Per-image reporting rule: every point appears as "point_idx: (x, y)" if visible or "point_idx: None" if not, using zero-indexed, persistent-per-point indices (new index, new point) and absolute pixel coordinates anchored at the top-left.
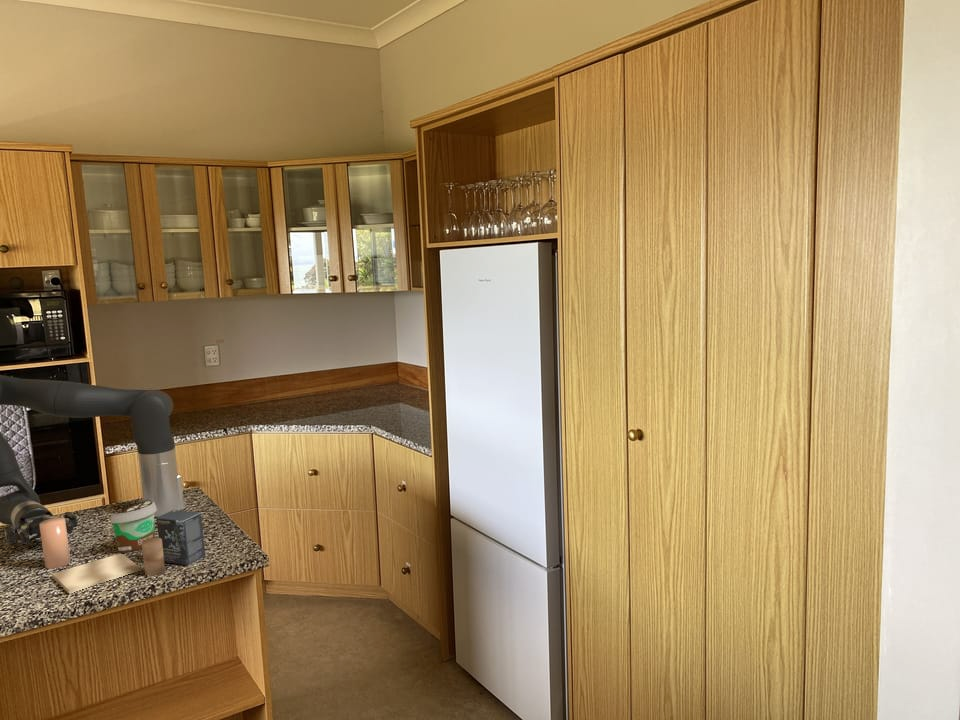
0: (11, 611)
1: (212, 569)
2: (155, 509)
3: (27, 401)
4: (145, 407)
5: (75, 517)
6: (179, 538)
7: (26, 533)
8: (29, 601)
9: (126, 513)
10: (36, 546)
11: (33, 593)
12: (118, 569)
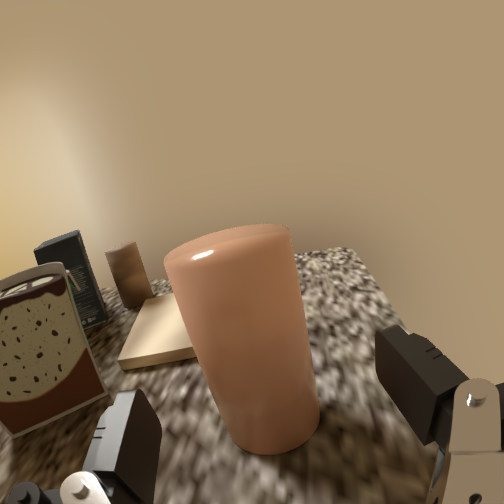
0: (355, 258)
1: (101, 289)
2: None
3: None
4: None
5: (27, 485)
6: (88, 260)
7: (401, 348)
8: (333, 273)
9: (48, 266)
10: None
11: (331, 290)
12: (172, 301)
